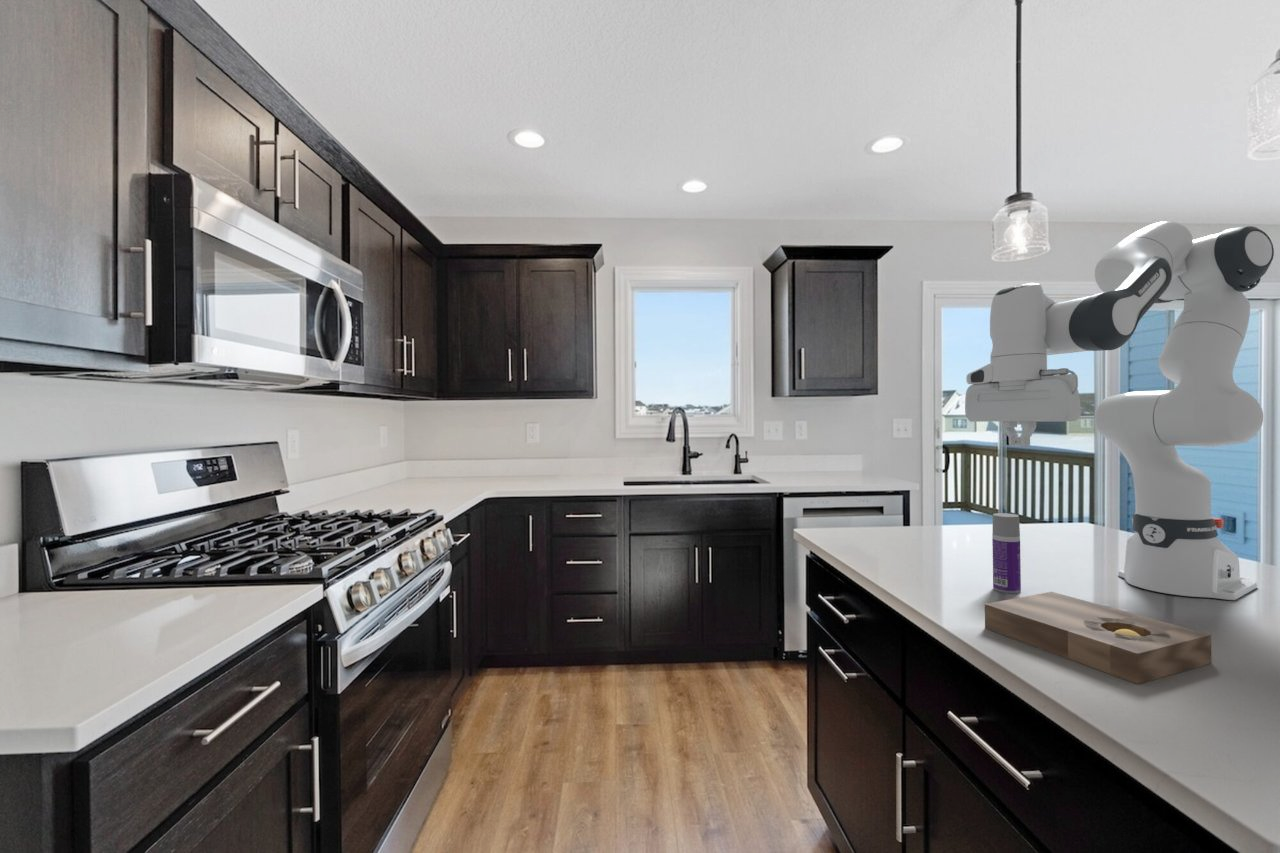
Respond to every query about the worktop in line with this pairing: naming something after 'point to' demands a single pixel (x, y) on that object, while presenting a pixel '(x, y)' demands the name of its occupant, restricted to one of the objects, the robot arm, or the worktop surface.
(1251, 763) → the worktop surface
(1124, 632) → the ball
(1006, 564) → the container
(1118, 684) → the worktop surface
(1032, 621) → the board
